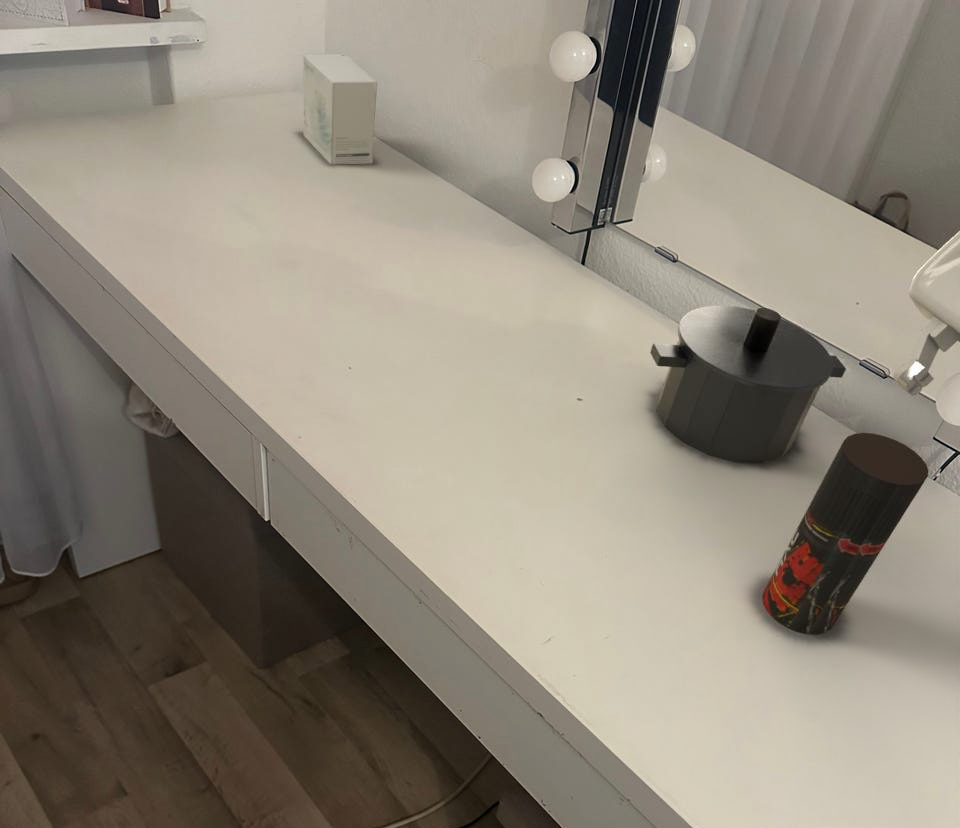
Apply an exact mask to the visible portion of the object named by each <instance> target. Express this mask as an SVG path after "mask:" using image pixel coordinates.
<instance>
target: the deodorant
mask: <svg viewBox="0 0 960 828" xmlns="http://www.w3.org/2000/svg"><path fill="white" fill-rule="evenodd" d="M923 459H924V458H922V456H920V455H919V454H918V453H917V452H916V451H915V450H913V449H912V448H910V447H909V446H907V445H906V444H904V443H902V442H900V441H898V440H896V439H894V438H890V437H888V436H885V435H881V434H878V433H870V432H858V433H853V434H851V435H848V436H847V437H846V438H845V439H844V440H843V441H842V443H841V445H840V446H839V449H838V451H837V452H836V454H835V455H834V458H833V460H832V462H831V464H830V465H829V467H828V470H827V472H825V475H824V477H823V479H822V480H821V483H820V484H819V486H818V489H817V490H816V492H815V494H814V496H813V497H812V500H811V501H810V503H809V506H808V507H807V509H806V511H805V513H804V515H803V517H802V518H801V521H800V522H799V524H798V526H797V528H796V530H795V532H794V534H793V535H792V538H791V539H790V541H789V542H788V545H787V546H786V548H785V550H784V552H783V554H782V556H781V558H780V560H779V562H778V564H777V565H776V567H775V569H774V571H773V573H772V575H771V577H770V579H769V580H768V583H767V584H766V586H765V588H764V590H763V593H762V604H763V606H764V608H765V610H766V612H767V613H768V614H769V615H770V617H771V618H772V619H774V620H775V622H777V623H778V624H779V625H781V626H782V627H783V626H784V628H787V629H788V630H791V631H794V632H795V633H801V634H804V635H813V636H814V635H815V636H817V635H822V634H825V633H827V632H829V631H831V630H832V628H833V627H835V624H836V623H837V621H838V619H839V618H840V617H841V615H842V613H843V611H844V610H845V608H846V607H847V605H848V604H849V602H850V600H851V599H852V597H853V596H854V594H855V593H856V591H857V589H858V588H859V586H860V585H861V583H862V581H863V580H864V578H865V577H866V575H867V574H868V572H869V571H870V569H871V567H872V565H873V564H874V563H875V561H876V559H877V558H878V557H879V555H880V553H881V552H882V550H883V548H884V547H885V546H886V543H887V542H888V540H889V538H890V537H891V536H892V534H893V532H894V531H895V529H896V527H897V526H898V525H899V523H900V521H901V520H902V518H903V517H904V515H905V513H906V512H907V510H908V509H909V507H910V505H911V504H912V502H913V500H914V499H915V498H916V496H917V494H918V493H919V492H920V490H921V488H922V486H923V485H924V483H925V482H926V480H927V479H928V477H929V469H928V465H927V464H926V461H924V460H923Z"/></svg>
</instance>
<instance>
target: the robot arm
mask: <svg viewBox="0 0 960 828" xmlns="http://www.w3.org/2000/svg"><path fill="white" fill-rule="evenodd" d="M908 296H909V298H910V300H911V301H912V303H913V304H914V306H915V307H916V308H917V310H918V311H919V312H920V314H921V315H922V316H923V317H924V318H925V319H927V320H928V322H927V323H926V324H924V326H923V327H922V328H921V329H920V331H919V334H918V337H917V339H916V341H915V343H914V347H913V350H912V352H911V354H910V358H909V359H908V360H907V361H906V362H905V363H904V364H903V365H902V366H901V367H900V368H898V370H896V371H895V373H894V375H893V380H894V382H895V383H896V384H897V385H898V386H899V387H900V388H901V389H903V390H904V391H905V392H906V393H907V394H909V395H910V396H912V397H915V396H917V395H918V394H919V393H921V392H922V390H923V388H925V387H927V386H929V384H931V383H932V382H933V380H934V378H935V377H933V375H931V373H930V372H929V370H930V368H931V366H932V364H933V362H934V360H935V358H936V356H937V353H938V351H939V350H940V351H942V353H946V352H947V351H949V349H951V347H953V346H954V345H955V344H956V343H957V342H959V343H960V230H959V231H958V232H957V233H955V234H954V235H953V236H952V237H951V238H950V239H949V240H947V242H946V243H944V244H943V245H942V246H941V247H940V248H939V249H938V250H937V251H936V252H935V253H934V254H933V255H932V256H931V257H929V259H928V260H927V261H925V263H923V265H922V266H921V267H920V268H919V269H918V270H917V272H916V273H915V275H914V276H913V277H912V280H911V282H910V287H909V291H908Z"/></svg>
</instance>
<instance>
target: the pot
mask: <svg viewBox="0 0 960 828" xmlns="http://www.w3.org/2000/svg"><path fill="white" fill-rule="evenodd" d="M649 353H650V355H651V357H652V359H653V361H654V362H655V365H656V366H657V367H666V368H667V367H668V369H667V372H666V376H665V379H664V382H663V384H662V388H661V390H660V393H659V396H658V400H657V406H656V413H657V415H658V416H659V418H660V421H661V423H662V424H663V427H664V428H665V429H666V430H668V431H669V432H670V433H671V434H672V435H673V436H674V437H675V438H677V439H678V440H679V441H680V442H681V443H683V444H684V445H686V446H689V447H691V448H693V449H694V450H696V451H699V452H701V453H702V454H704V455H706V456H709V457H713V458H717V459H720V460H724V461H728V462H731V463H738V464H759V465H761V464H765V463H769V462H772V461H775V460H779V459H782V458H783V457H784V455H785V454H786V453H788V451H789V450H790V449H791V448H792V446H793V444H794V442H795V440H796V438H797V436H798V434H799V432H800V431H801V428H802V426H803V423H804V421H805V419H806V418H807V415H808V414H809V411H810V409H811V407H812V405H813V403H814V401H815V399H816V396H817V394H818V393H819V391H820V388H821V386H820V387H818V388H816V389H812V390H809V391H803V392H776V391H769V390H763V389H759V388H754V387H751V386H747V385H744V384H741V383H738V382H735V381H733V380H730V379H728V378H726V377H723V376H721V375H719V374H717V373H715V372H713V371H712V370H710V369H708V368H707V367H705V366H704V365H702V364H701V363H699V362H698V361H697V360H696V359H694V358H693V357H692V356H691V355H690V354H689V353H688V352H687V351H686V350H685V348H684V347H683V345H682V344H681V342H680V340H679V339H678V341H677V344H669V343H655V342H654V343H652V346H651V349H650V352H649ZM829 355H830V357H831V359H832V362H833V371H832V373H831V376H830V378H839V379H842V378H843V376H844V374H845V373H846V370H847V368H846V366H844V363H842V362H841V360H840V359H839V358H838V356H836V355H831V354H829Z"/></svg>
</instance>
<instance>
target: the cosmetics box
mask: <svg viewBox="0 0 960 828" xmlns="http://www.w3.org/2000/svg"><path fill="white" fill-rule="evenodd" d="M302 56H303V58H302V59H303V60H302V61H303V63H302V64H303V128H302V129H303V136H304V138H306V140H307V141H308V142H309V143H310V144H311V145H312V146H313V148H314V149H316V150H317V151H318V152H319V154H320V155H321V156H322V157H323V158H324V159H325V160H326V162H328V163H329V164H330V165H358V164H361V165H362V164H363V165H364V164H373V163H374V140H375V125H376V124H375V121H376V106H377V96H378V95H377V92H378V81H376V79H374V78H373V77H372V76H371V75H370V74H369V73H368V72H367V71H366V70H364V69H363V68H362V67H361V66H360V65H359V64H357V62H355V61H354V60H353V59H352V58H351V57H350V56H349V55H347V54H346V53H337V54H336V53H335V54H332V53H331V54H330V53H323V54H322V53H321V54H320V53H317V54H316V53H315V54H313V53H311V54H309V53H308V54H304V53H303V55H302Z"/></svg>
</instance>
